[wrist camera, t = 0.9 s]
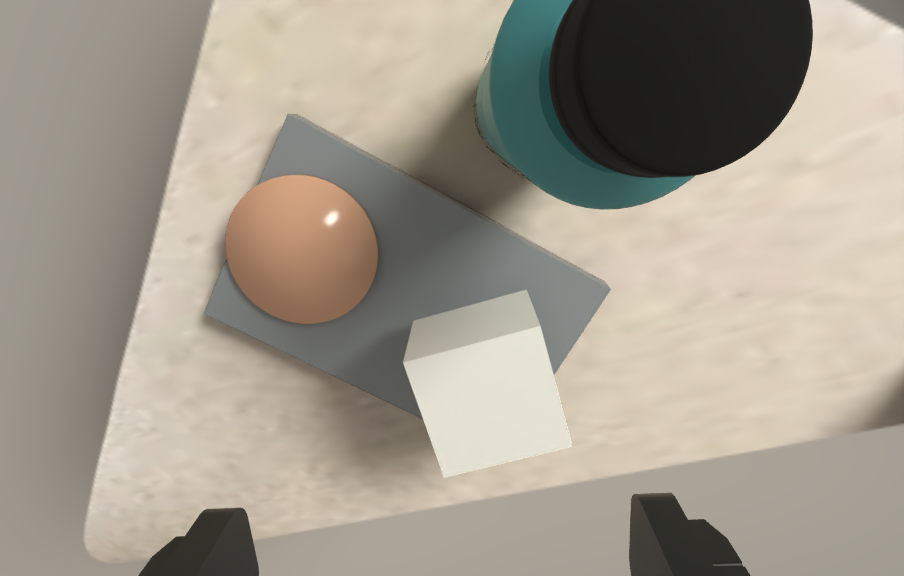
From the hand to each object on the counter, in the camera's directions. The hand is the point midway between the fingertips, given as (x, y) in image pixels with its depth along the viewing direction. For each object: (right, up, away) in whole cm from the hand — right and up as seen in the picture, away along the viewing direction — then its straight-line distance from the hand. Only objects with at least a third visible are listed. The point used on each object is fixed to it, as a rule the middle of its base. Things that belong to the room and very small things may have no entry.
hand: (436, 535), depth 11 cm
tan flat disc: (-8, +7, +17) cm, 20 cm away
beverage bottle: (+5, +15, +17) cm, 23 cm away
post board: (-2, +5, +20) cm, 20 cm away
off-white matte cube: (+2, +2, +17) cm, 17 cm away
